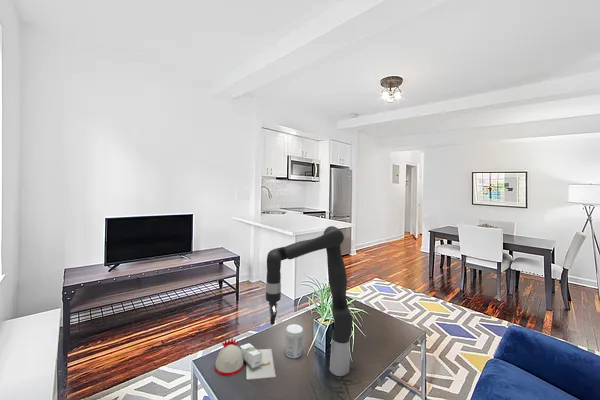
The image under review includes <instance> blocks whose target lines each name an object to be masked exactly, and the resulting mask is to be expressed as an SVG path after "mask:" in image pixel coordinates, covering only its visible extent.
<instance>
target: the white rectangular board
mask: <svg viewBox="0 0 600 400" xmlns="http://www.w3.org/2000/svg"><path fill="white" fill-rule="evenodd" d="M257 350H258V351H260V352H261V353H262V362H264V361H270V365H266V366H257V367H254V368H251V367H250V366H249V365H248V364H247V363H246V362H245V363H246V365H245V367H246V368H245V369H246V380H247V381H250V380H260V379H271V378H276V377H277V376H276V371H275V363H274V358H273V352H272V348H265V349H264V348H263V349H257Z"/></svg>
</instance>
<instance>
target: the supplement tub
mask: <svg viewBox="0 0 600 400" xmlns="http://www.w3.org/2000/svg"><path fill="white" fill-rule="evenodd" d="M303 336H304V329H303V327H302V326H301V325H299V324H295V323H293V324H289V325H288V326H286V330H285V347H284V348H285V349H284V351H285V355H286V357H288V358H290V359H297V358H299V357H301V356H302V354H303V340H304V339H303V338H304V337H303Z"/></svg>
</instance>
